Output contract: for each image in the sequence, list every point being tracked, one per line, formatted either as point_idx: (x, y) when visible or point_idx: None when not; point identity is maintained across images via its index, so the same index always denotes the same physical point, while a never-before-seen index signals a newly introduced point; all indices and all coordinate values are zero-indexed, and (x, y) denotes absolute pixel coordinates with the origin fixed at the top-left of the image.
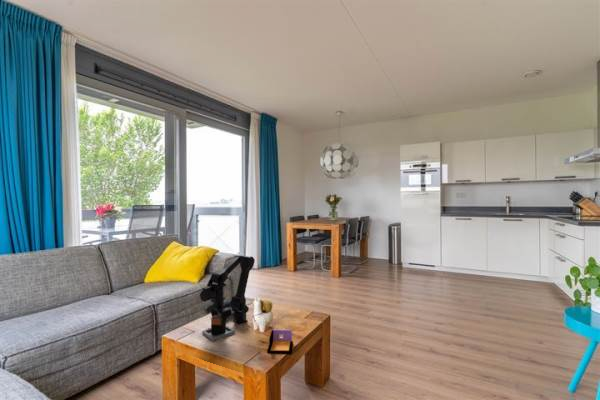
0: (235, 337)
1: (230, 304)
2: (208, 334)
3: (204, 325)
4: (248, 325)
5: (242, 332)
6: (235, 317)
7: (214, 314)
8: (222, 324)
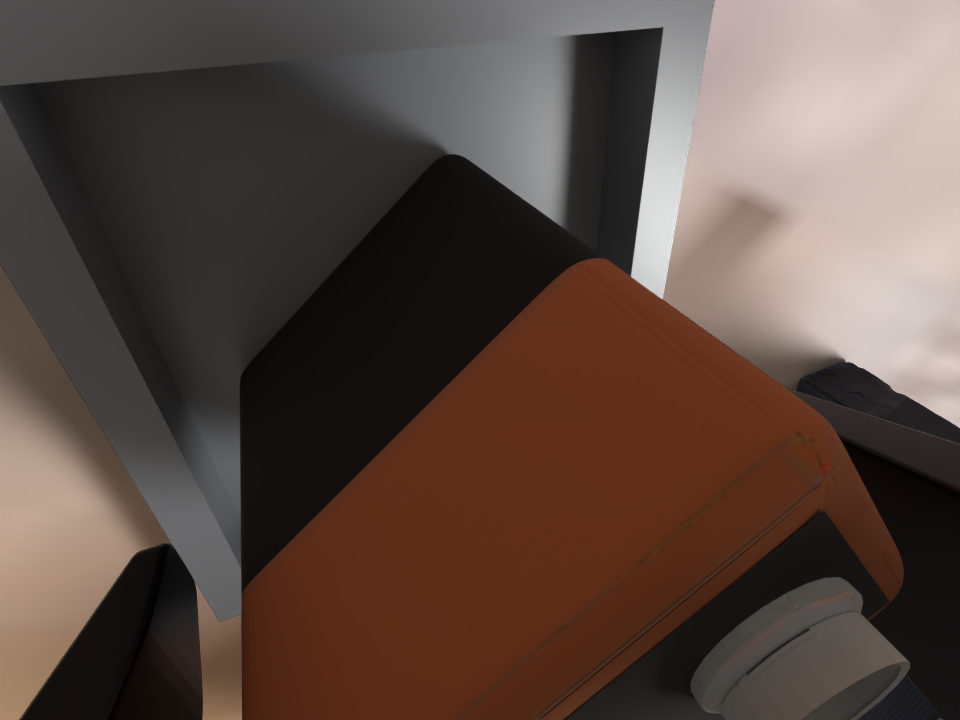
0: (37, 561)
1: (913, 701)
2: (354, 8)
3: (901, 185)
4: None
5: (221, 646)
6: None
7: (948, 579)
8: (58, 690)
